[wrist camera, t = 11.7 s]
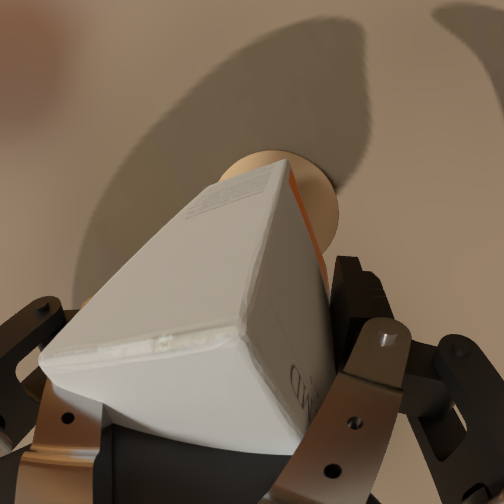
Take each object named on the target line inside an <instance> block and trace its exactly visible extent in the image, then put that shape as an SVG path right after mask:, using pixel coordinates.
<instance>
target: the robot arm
mask: <svg viewBox="0 0 504 504" xmlns="http://www.w3.org/2000/svg"><path fill="white" fill-rule="evenodd" d="M92 297H93V296H92ZM92 297H90V298H89V299H87V300H86V301H85V302H84V303H83V304H82V306H81V309H82V308H83V307H84V306H85V305H86V304H87V303H88V302H89V301H90V300H91V298H92ZM81 309H80V310H81ZM80 310H63V308H62V306H61V302H60V300H59V299H58V298H56V297H54V296H46V297H41V298H39V299H36V300H34V301H32V302H31V303H30V304H28V305H27V306H26V307H24V308H23V309H22V310H20V311H19V312H18V313H16V314H15V315H14V316H12V317H11V318H10V319H9V320H7V321H6V322H5V323H3V324H2V325H1V326H0V504H381V503H380V502H379V501H378V500H377V499H376V498H375V497H374V496H373V495H372V494H371V489H372V487H373V484H374V482H375V480H376V477H377V474H378V472H379V469H380V466H381V464H382V461H383V458H384V455H385V453H386V450H387V447H388V444H389V441H390V438H391V435H392V431H393V428H394V425H395V422H396V418H397V414H398V413H403V414H406V415H407V418H408V420H409V423H410V425H411V427H412V429H413V432H414V434H415V436H416V439H417V441H418V443H419V446H420V448H421V451H422V453H423V455H424V458H425V460H426V463H427V465H428V468H429V470H430V473H431V475H432V478H433V480H434V483H435V486H436V488H437V491H438V494H439V496H440V499H441V502H442V504H504V380H503V379H502V378H501V376H500V375H499V373H498V372H497V371H496V369H495V368H494V367H493V365H492V364H491V362H490V361H489V360H488V358H487V357H486V356H485V354H484V353H483V352H482V350H481V349H480V348H479V346H478V345H477V344H476V343H475V342H474V341H472V340H471V339H469V338H467V337H465V336H462V335H458V334H450V335H446V336H444V337H443V338H442V339H441V340H440V342H439V344H438V347H437V346H432V345H428V344H424V343H420V342H417V341H414V340H412V339H411V338H412V337H411V333H410V331H409V329H408V328H407V327H406V326H404V324H402V323H401V322H399V321H397V320H395V319H394V316H393V314H392V311H391V308H390V305H389V302H388V300H387V297H386V294H385V292H384V290H383V287H382V284H381V282H380V279H379V278H378V277H377V276H375V275H374V274H373V273H372V272H371V271H362V268H361V265H360V262H359V259H358V257H350V256H337V258H336V262H335V269H334V276H333V283H332V290H331V296H330V315H331V324H332V334H333V345H334V357H335V370H336V378H335V380H334V382H333V384H332V386H331V388H330V390H329V392H328V394H327V396H326V398H325V400H324V402H323V403H322V405H321V407H320V409H319V411H318V413H317V414H316V416H315V418H314V420H313V421H312V423H311V425H310V427H309V428H308V430H307V432H306V434H305V435H304V437H303V439H302V440H301V442H300V444H299V445H298V447H297V449H296V450H295V452H294V454H293V455H275V454H259V453H249V452H240V451H232V450H225V449H219V448H213V447H207V446H201V445H196V444H191V443H186V442H181V441H177V440H172V439H168V438H164V437H160V436H156V435H152V434H148V433H144V432H141V431H137V430H134V429H130V428H127V427H124V426H121V425H117V424H114V423H112V419H111V417H110V416H109V414H108V412H107V410H106V408H105V406H104V404H103V403H102V402H99V401H96V400H93V399H90V398H87V397H84V396H82V395H79V394H76V393H73V392H70V391H68V390H65V389H63V388H61V387H58V386H56V385H55V384H54V383H53V382H52V381H51V380H50V379H49V378H48V376H47V375H46V374H45V373H44V372H43V370H42V369H41V367H40V366H38V367H37V368H36V369H35V370H34V371H33V372H32V373H31V374H30V375H28V376H27V377H26V378H25V379H24V380H23V381H22V382H21V383H20V382H19V380H18V379H17V377H16V373H15V370H16V366H17V364H18V363H19V361H21V360H22V359H23V358H24V357H25V356H27V355H28V354H29V353H30V352H31V351H32V350H33V349H35V348H36V347H37V346H38V347H39V349H40V351H41V352H42V351H43V350H44V349H45V348H46V346H47V345H48V344H49V343H50V342H51V341H52V340H53V339H54V338H55V337H56V335H57V334H58V333H59V332H60V331H61V330H62V329H63V328H64V327H65V326H66V325H67V324H68V323H69V322H70V321H71V320H72V318H73V317H74V316H75V315H76V314H77V313H78V312H79V311H80ZM455 404H456V406H457V408H458V409H459V411H460V413H461V415H462V417H463V419H464V420H465V423H466V426H467V432H466V430H465V428H464V426H463V425H462V423H461V421H460V419H459V417H458V415H457V414H456V411H455V410H454V408H453V406H454V405H455ZM35 425H36V427H35V432H34V437H33V442H32V443H31V444H29V445H27V446H25V447H23V448H20V449H18V450H16V451H14V452H11V451H12V450H13V449H14V448H15V447H16V446H17V445H18V444H19V442H20V441H21V440H22V439H23V438H24V437H25V436H26V435H27V434H28V433H29V432H30V430H31V429H32V428H33V427H34V426H35Z"/></svg>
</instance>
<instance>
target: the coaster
mask: <svg viewBox="0 0 504 504" xmlns="http://www.w3.org/2000/svg"><path fill="white" fill-rule="evenodd" d="M283 159H288V160H289V162H290V165H291V168H292V171H293V173H294V176H295V179H296V182H297V185H298V188H299V191H300V194H301V197H302V200H303V203H304V206H305V209H306V212H307V215H308V218H309V220H310V223H311V226H312V229H313V231H314V234H315V237H316V240H317V242H318V245H319V248H320V251H321V254H323V253H324V251H325V250H326V249H327V248H328V247H329V245H330V244H331V242H332V240H333V238H334V236H335V233H336V230H337V225H338V220H339V210H338V202H337V198H336V195H335V192H334V190H333V187H332V185H331V183H330V181H329V180H328V178H327V177H326V175H325V174H324V173H323V171H322V170H321V169H319V168H318V167H317V166H316V165H315V164H314V163H312V162H311V161H310V160H308V159H306V158H304V157H303V156H300V155H298V154H295V153H292V152H288V151H283V150H265V151H259V152H256V153H252V154H250V155H248V156H246V157H243V158H242V159H240V160H239V161H237V162H236V163H235V164H233V165H232V166H231V167H230V168H229V169H228V170H227V171H226V172H225V173H224V174H223V175H222V177H221V179H220V180H219V182H221V181H223V180H226V179H229V178H231V177H234V176H237V175H240V174H242V173H245V172H248V171H251V170H254V169H257V168H260V167H263V166H266V165H269V164H271V163H274V162H277V161H280V160H283Z"/></svg>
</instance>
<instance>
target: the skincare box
mask: <svg viewBox="0 0 504 504" xmlns="http://www.w3.org/2000/svg"><path fill="white" fill-rule="evenodd" d="M38 362H39V366H40V367H41V369H42V370H43V372H44V373H45V374H46V375H47V376H48V378H49V379H50V380H51V381H52V382H53V383H54V384H55V385H56V386H58V387H61V388H63V389H65V390H68V391H70V392H73V393H76V394H79V395H82V396H84V397H87V398H90V399H93V400H96V401H99V402H102V403H103V404H104V406H105V408H106V410H107V412H108V414H109V416H110V417H111V419H112V423H114V424H117V425H121V426H124V427H127V428H130V429H134V430H137V431H141V432H144V433H148V434H152V435H156V436H160V437H164V438H168V439H172V440H177V441H181V442H186V443H191V444H196V445H201V446H207V447H213V448H219V449H225V450H232V451H240V452H249V453H259V454H275V455H293V454H294V452H295V450H296V449H297V447H298V445H299V444H300V442H301V440H302V439H303V437H304V435H305V434H306V432H307V430H308V428H309V427H310V425H311V423H312V421H313V420H314V418H315V416H316V414H317V413H318V411H319V409H320V407H321V405H322V403H323V402H324V400H325V398H326V396H327V394H328V392H329V390H330V388H331V386H332V384H333V382H334V380H335V378H336V370H335V357H334V345H333V334H332V324H331V315H330V292H329V284H328V277H327V269H326V265H325V262H324V259H323V256H322V254H321V251H320V248H319V245H318V242H317V240H316V237H315V234H314V231H313V229H312V226H311V223H310V220H309V218H308V215H307V212H306V209H305V206H304V203H303V200H302V197H301V194H300V191H299V188H298V185H297V182H296V179H295V176H294V173H293V171H292V168H291V165H290V162H289V160H288V159H283V160H280V161H277V162H274V163H271V164H269V165H266V166H263V167H260V168H257V169H254V170H251V171H248V172H245V173H242V174H240V175H237V176H234V177H231V178H229V179H226V180H223V181H221V182H218V183H215V184H213V185H210V186H208V187H207V188H206V189H204V190H203V191H202V192H201V193H200V194H199V195H198V196H197V197H195V198H194V199H193V200H192V201H191V202H190V203H189V204H188V205H186V206H185V207H184V208H183V209H182V210H181V211H180V212H179V213H178V214H177V215H176V216H174V217H173V218H172V219H171V220H170V221H169V222H168V223H167V224H166V225H165V226H164V227H163V228H162V229H161V230H160V231H159V232H158V233H156V234H155V235H154V236H153V237H152V238H151V239H150V240H149V241H148V242H147V243H146V244H145V245H144V246H143V247H142V248H141V249H140V250H139V251H138V252H137V253H136V254H135V255H134V256H133V257H132V258H131V259H130V260H129V261H128V262H127V263H126V264H125V265H124V266H123V267H122V268H121V269H120V270H119V271H118V272H117V273H116V274H115V275H114V276H113V277H112V278H111V279H110V280H109V281H108V282H107V283H106V284H105V285H104V286H103V287H102V288H101V289H100V290H99V291H98V292H97V293H96V294H95V295H94V296H93V297H92V298H91V300H90V301H89V302H88V303H87V304H86V305H85V306H84V307H83V308H82V309H81V310H80V311H79V312H78V313H77V314H76V315H75V316H74V317H73V318H72V320H71V321H70V322H69V323H68V324H67V325H66V326H65V327H64V328H63V329H62V330H61V331H60V332H59V333H58V334H57V335H56V337H55V338H54V339H53V340H52V341H51V342H50V343H49V344H48V345H47V346H46V348H45V349H44V350H43V351H42V352H41V353H40V355H39V359H38Z"/></svg>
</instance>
